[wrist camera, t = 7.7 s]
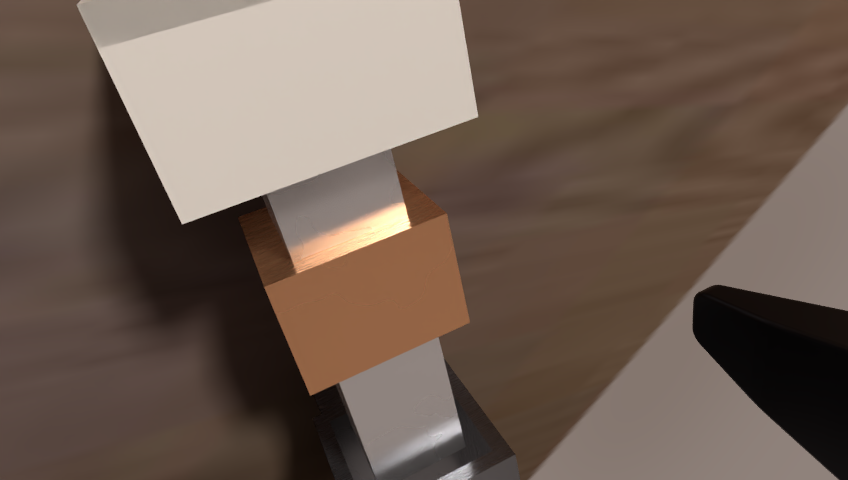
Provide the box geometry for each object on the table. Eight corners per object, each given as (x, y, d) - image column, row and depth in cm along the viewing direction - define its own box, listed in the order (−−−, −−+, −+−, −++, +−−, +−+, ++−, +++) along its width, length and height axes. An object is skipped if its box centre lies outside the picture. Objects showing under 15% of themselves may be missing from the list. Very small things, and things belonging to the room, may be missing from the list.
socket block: (363, 58, 17) (478, 116, 11) (165, 121, 16) (181, 224, 10) (328, -78, 15) (443, -92, 10) (101, -21, 14) (76, 5, 8)
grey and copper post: (441, 370, 19) (496, 447, 16) (326, 426, 18) (362, 518, 15) (340, -21, 13) (399, -11, 10) (158, 30, 12) (166, 57, 9)
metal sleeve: (445, 425, 25) (536, 568, 19) (340, 478, 23) (405, 646, 18) (417, 322, 22) (515, 454, 16) (296, 376, 21) (357, 539, 15)
